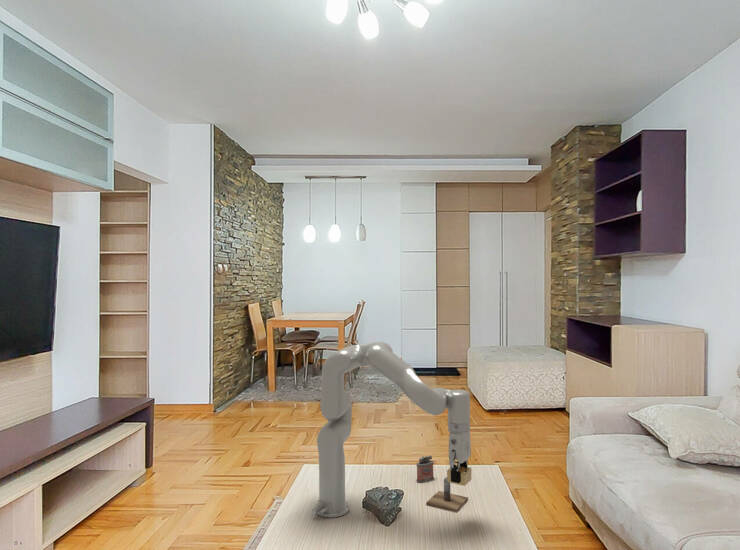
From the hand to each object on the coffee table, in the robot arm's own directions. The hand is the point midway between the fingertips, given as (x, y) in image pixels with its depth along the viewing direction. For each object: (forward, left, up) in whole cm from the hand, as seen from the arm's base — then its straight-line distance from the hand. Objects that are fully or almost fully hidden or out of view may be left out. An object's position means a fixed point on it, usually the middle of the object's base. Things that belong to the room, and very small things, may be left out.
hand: (459, 478), depth 171 cm
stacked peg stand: (+13, +10, -15) cm, 22 cm away
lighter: (+28, +26, -16) cm, 41 cm away
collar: (0, 0, -1) cm, 1 cm away
